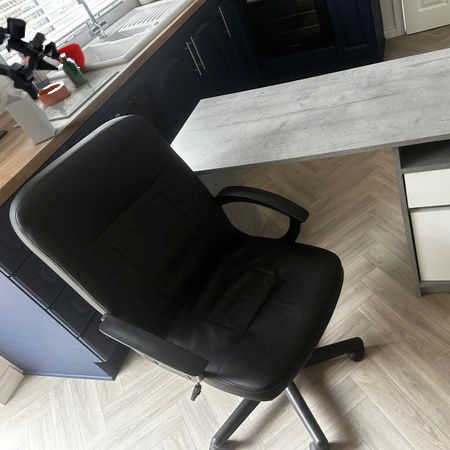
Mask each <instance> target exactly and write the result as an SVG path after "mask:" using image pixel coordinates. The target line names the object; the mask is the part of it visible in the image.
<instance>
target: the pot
mask: <svg viewBox="0 0 450 450" xmlns="http://www.w3.org/2000/svg"><path fill="white" fill-rule="evenodd" d="M39 91H40V92H39V93H38V94H37V97H38V98H37V99H38V100H39V101H40V102H41V103H42V104H43V106H45V107H49V106H52V105H55V104H57V103H60V102H61V101H63V100H64V99H66V98H67V97H68V96H69V95H70V90H69V89H68V88H67V86H66V85H65V83H64V82H62V81H60V82H59V81H58V82H56V83H53V84H50V85H48V86H46V87H44V88H42V89H41V90H39Z"/></svg>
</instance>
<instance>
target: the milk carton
mask: <svg viewBox="0 0 450 450" xmlns="http://www.w3.org/2000/svg"><path fill="white" fill-rule="evenodd" d="M5 94H6V96H7V97H6V101H5V104H4V109H5V110H6V111H7V112H8V113H9V115H10V116H11V118H13V120H14V121H15V122H16V123H17V124H18V125H19V126H20V128H21V129H22V130H23V132H24V133H25V134H26V135H27V136H28V137H29V138H30V140H31V141H32V143H34V144H35V145H37V144H40V143H42V142H44V141H46V140H48V139H50V138H53V137H55V134H56V127H55V126H54V125H53V123H52V122H51V121H50V120H49V118H48V117H47V116H46V115H45V113H44V112H43V111H42V109H41V108H40V107H39V105H38V104H37V103H36V102H35V100H33V99H32V98H31V97H30V95H29V94H28V93H27V92H25V91H23V90H22V89H16V88H12V87H11V86H10V85H7V87H6V89H5Z"/></svg>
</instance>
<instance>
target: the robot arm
mask: <svg viewBox="0 0 450 450" xmlns="http://www.w3.org/2000/svg"><path fill="white" fill-rule="evenodd" d="M27 25H28V24H27V22H26V20H24V19H22V18H17V17H11V16H8V17H7V18H6V27H3V26H0V46H3V45H4V44H5V43H6V42H7V44H6V45H5V46H4V47H5V49H6V51H7V53H9V54H11V53H12V52H13V51H14V52H17V53H20V54H21V55H23V58H25V59H26V58H28V59H27V65H26V64H25V63H20V62H17V61H15V62H13V63H12V64H10V65H8V64H4V63H0V76H3V77H7V78H8V79H10V80H11V81H12V82H13V88H14V89H20V90H22V91H25V92H27V93H28V94H29V95H30V97H31V98H32V99H33V100H34V101H35V100H36V99H39V98H38V97H37V94H38V93H39V92H40V91H41V90H39V88H38V86H37V85H36V84H35V82H34V81H35V80H36V77H35V73H34V72H36V71H37V72H39V71H56V72H57V71H60V68H59V67H57V66H56V65H54V64H52V63H51V62H48V61H47V60H45V59H44V58H45V57H47V58H50V59H51V60H55V61H57V60H59V61H61V60H60V59H59V58H58V57H59V56H61V55H62V54H61V53H60V52H59V51H58V50H59V49H58V48H57V44H56V42H55V41H52V40H49V41H47V37H46V35H45V33H42V32H40V31H37V32H36V34H34V37H33V38H32V40H29V41H28V40H26V39H25V38H26V37H27ZM46 41H47V42H46ZM44 43H45V44H44Z"/></svg>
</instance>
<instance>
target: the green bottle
mask: <svg viewBox="0 0 450 450" xmlns="http://www.w3.org/2000/svg"><path fill="white" fill-rule="evenodd" d="M58 58H59V59H60V60H61V61H62V63H61V65H60V66H59V67H60V69H61V70H62V71H63V73H64V75H66V77H67V79H68V80H69V82H70V83H71V84H72V86H73V87H74V88H79V87H81V86H83V85H85V84H86V83H87V82H88V80H87V79H86V77H85V76H84V74H83V73H82V72H81V69H80V70H79V68H78V67H77V65H76V64H75V62H74V61H73V60H70V59H67V57H66V55H65V54H63V55H61V56H59V57H58Z"/></svg>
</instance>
